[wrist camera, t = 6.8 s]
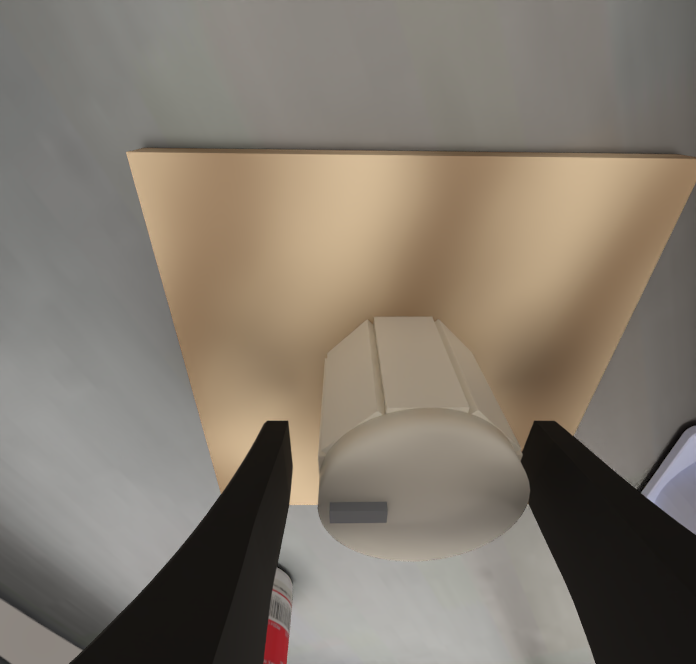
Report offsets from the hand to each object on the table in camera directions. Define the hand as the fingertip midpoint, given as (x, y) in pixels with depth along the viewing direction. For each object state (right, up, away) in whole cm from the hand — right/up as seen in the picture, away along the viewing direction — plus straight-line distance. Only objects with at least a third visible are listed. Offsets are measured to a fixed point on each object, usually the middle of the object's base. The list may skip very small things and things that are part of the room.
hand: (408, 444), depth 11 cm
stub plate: (0, +2, +3) cm, 4 cm away
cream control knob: (0, +2, +2) cm, 3 cm away
